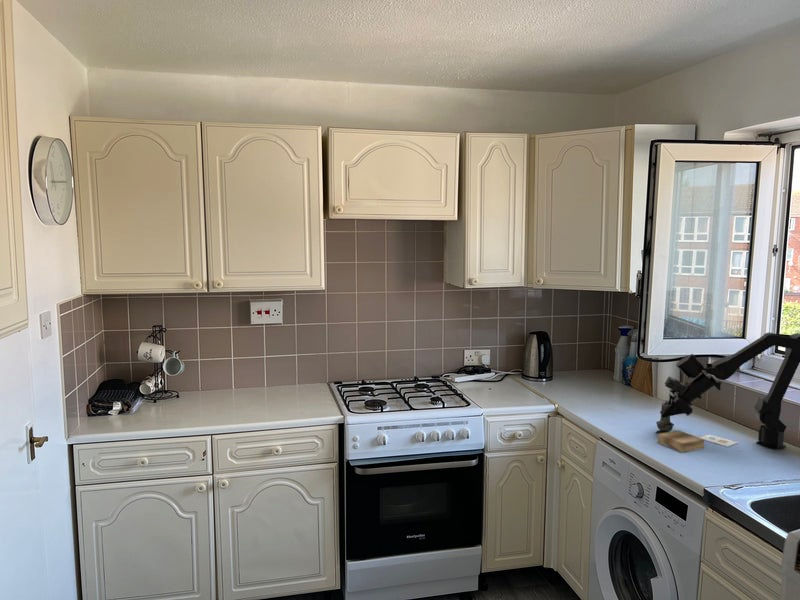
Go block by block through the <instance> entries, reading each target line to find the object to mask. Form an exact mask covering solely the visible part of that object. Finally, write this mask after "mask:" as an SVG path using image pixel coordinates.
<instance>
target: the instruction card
mask: <svg viewBox="0 0 800 600" xmlns="http://www.w3.org/2000/svg"><path fill="white" fill-rule="evenodd" d="M698 437H699V436H698ZM699 438H702V439H704V442H705V441H706V442H708V441H709V443H713V444H716V445H718V444H719V445H718V446H723V447H725V448H729V447H733V446H735V445H737V444H739V442H738V441H734V440H730V439H726V438H723V437H721V436H716V435H713V434H706V435H703V436H700V437H699Z"/></svg>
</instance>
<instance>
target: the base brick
mask: <svg viewBox="0 0 800 600" xmlns="http://www.w3.org/2000/svg"><path fill="white" fill-rule="evenodd" d="M658 442H659V443H658ZM657 443H658V444H660V443H661V445H663V444H664V445H663V446H665V445H666V447H668V446H669V447H668V448H670V447H671V449H673V448H674V449H673V450H675V449H676V451H678V450H679V452H680V451H681V452H680V453H686V452H685V451H687V452H691V451H690V450H692V451H696V450H695V449H697V450H700V449H701V448H702V449H704V448H705V440H704V439H702V438H699V436H697V435H693V434H691V433H687V432H684V431H682V430H678V429H677V430H671V431H670V432H666V433H661V434H658V433H657ZM702 449H701V450H702Z"/></svg>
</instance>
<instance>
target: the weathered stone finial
mask: <svg viewBox="0 0 800 600" xmlns="http://www.w3.org/2000/svg"><path fill="white" fill-rule="evenodd" d="M667 402H668V401H667V400H665V402H663V403H661V410H660V411H661V412H660V419H659V420H658V421H656V422H655V424H656V426H657V428H658V429H657V430H656V434H657V435H658V434H661V433H666V432H672V431H673V427H675V424H674V423H672V422H671V416H668V417H664V418H663V417H662V416H661V414H662V413H663V412H664V411H665V410H666V409H667V408H668V407H669V406H670V404H668V403H667Z"/></svg>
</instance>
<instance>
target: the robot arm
mask: <svg viewBox="0 0 800 600" xmlns="http://www.w3.org/2000/svg"><path fill="white" fill-rule="evenodd" d="M772 347H779V348H784V358H783V361H782V362H781V365H780V366H779V369H778V371H777V373H776V375H775V378H774V380H773V382H772V383H771V386H770V388H769V389H768V390H769V391H768V392H767V395H765V397H763V398H761V397H760V396H758V398H757V401H756V404H755V405H754V406H753V408H754V414H755V417H756V418H757V419H758V420H759V421H760V423H761V425H760V426H759V427H760V428H759V429H758V435H757V436H758V437H757V440H758V441H756V442H755V444H757V445H761V446H762V447H766V448H769V449H772V450H777V449H782V448H786V447H787V445H786V444H784V442H785V441H784V440H785V431H786V429H787V426H786V425H785V423H783V422H782V421H781V420H780V416H781V412H782V401H783V400H784V397H785V394H786V393H787V391H788V389H789V387H790V384H791V383H792V380H793V378H794V375H795V373H796V372H797V369H798V368H799V365H800V333H799V332H797V333H793V334H785V333H784V334H783V333H773V332H766V333H764V334H763V335H762V336H760V337H759V338H758V339H755V340H754V341H753V342H750V344H748V345H746V346H744V347H742V348H741V349H740V350H738V351H737V352H735V353H733V354H731V355H727V356H725V357H721V358H719V359H717V360H715V361H713V362H711V363H709V362H708V363H701V361H699V360H698V358H696V356H695V355H694V353H691V354H689V355H687V356H686V357H683V358H681V359H680V360H679V361H678V362H677V363H676V366H675V367H677V368H678V370H679V371H681V372H682V374H683V375H684V376H685V377H686V378H687V379H690V378H691V379H692V380H691V381H685V383H683V382H681V381H680V380H678V379H676V378H674V377H672V376H668V377H667V378H666V380H665V382H664V386H665V387H666V388H668V389H669V392H670V393H669V394H668V401H667V403H668V404H670V406H669V407H668V408H667V409H666V410H665V411H664V412H663V413H662V414H661V413H660V417H661V416H662V417H663V418H664V417H668V416H670V417H673V416H678V415H682V414H683V415H684V414H685V415H686V416H690V415H691V414H692V413H693V407H692V406H693V403H694V402H695V401H697V400H700V399H702V398H703V395H704V394H707V393H708V392H709V390H711V389H712V388H714V387H715V388H716V390H718V391H721V388H722V387H721V385H722V382H721V381H725V380H728V379H730V377H732V376H733V375H734V374H735V373H736V372H737V371H738V370H739V369H740V367H741V366H742V365H745V364H746V363H748V362H749V361H751V360H752V359H754V358H755V357H758V356H759V355H761V354H762V353H763V352H765V351H767V350H768V349H770V348H772ZM713 376H714V377H715V378H716V379H715V378H714V377H713ZM717 379H718V380H717ZM720 380H721V381H720ZM671 393H672V394H671ZM660 412H661V410H660Z"/></svg>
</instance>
